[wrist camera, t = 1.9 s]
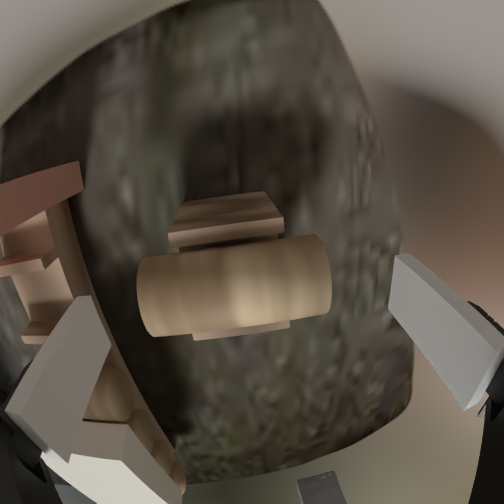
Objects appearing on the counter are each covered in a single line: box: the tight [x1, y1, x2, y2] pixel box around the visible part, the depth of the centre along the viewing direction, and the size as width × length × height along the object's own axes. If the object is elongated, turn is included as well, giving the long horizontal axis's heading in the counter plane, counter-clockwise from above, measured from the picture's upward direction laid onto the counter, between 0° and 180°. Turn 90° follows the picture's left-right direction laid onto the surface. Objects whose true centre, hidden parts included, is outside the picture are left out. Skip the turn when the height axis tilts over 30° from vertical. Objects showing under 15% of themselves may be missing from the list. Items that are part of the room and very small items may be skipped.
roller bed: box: [0, 199, 186, 494], centre depth 19 cm, size 8×30×7 cm, turn 6°
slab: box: [41, 421, 182, 504], centre depth 16 cm, size 9×13×3 cm
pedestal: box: [168, 191, 290, 341], centre depth 16 cm, size 5×6×6 cm
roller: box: [137, 234, 332, 337], centre depth 13 cm, size 8×4×4 cm, turn 96°
